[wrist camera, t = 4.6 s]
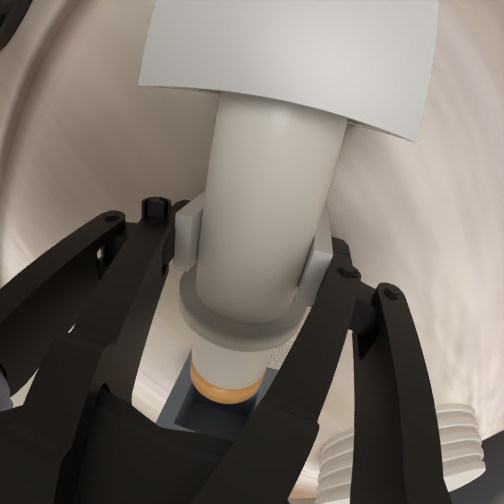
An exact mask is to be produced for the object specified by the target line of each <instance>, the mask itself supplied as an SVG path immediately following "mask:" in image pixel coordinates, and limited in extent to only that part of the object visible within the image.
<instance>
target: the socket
mask: <svg viewBox="0 0 504 504" xmlns="http://www.w3.org/2000/svg"><path fill="white" fill-rule="evenodd" d="M191 351H192V350H191ZM190 370H191V352H190V354H189V356H188V358H187V360H186V362H185V364H184V366H183V368H182V370H181V373H180V375H179V377H178V379H177V381H176V383H175V385H174V387H173V389H172V391H171V393H170V395H169V397H168V399H167V401H166V403H165V405H164V407H163V409H162V411H161V413H160V415H159V417H158V419H157V421H156V423H155V424H157V425H158V426H160V427H163V428H168V429H174V430H181V431H189V432H198V433H205V434H208V435H212V436H215V437H218V438H222V439H225V440H229V441H232V442H234V441H235V440H236V438H237V437H238V435H239V433H240V432H241V430H242V429H243V427H244V426H245V424H246V423H247V421H248V419H249V418H250V416H251V415H252V413H253V411H254V410H255V408H256V407H257V405H258V403H259V402H260V401H261V399H262V398H263V397H264V395H265V394H266V392H267V390H268V389H269V387H270V385H271V383H272V382H273V380H274V378H275V376H276V375H277V373H278V370H274V369H270V368H267V370H266V373H265V375H264V377H263V380H262V382H261V384H260V387H259V389H258V390H257V392H256V393H255V394H254V395H253V396H252V397H250V398H249V399H247V400H245V401H243V402H239V403H234V404H224V403H219V402H215V401H213V400H210V399H208V398H206V397H205V396H204V395H202V394H201V393H200V392H199V391H198V390H197V389H196V387H195V386H194V384H193V382H192V379H191V374H190Z"/></svg>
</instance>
